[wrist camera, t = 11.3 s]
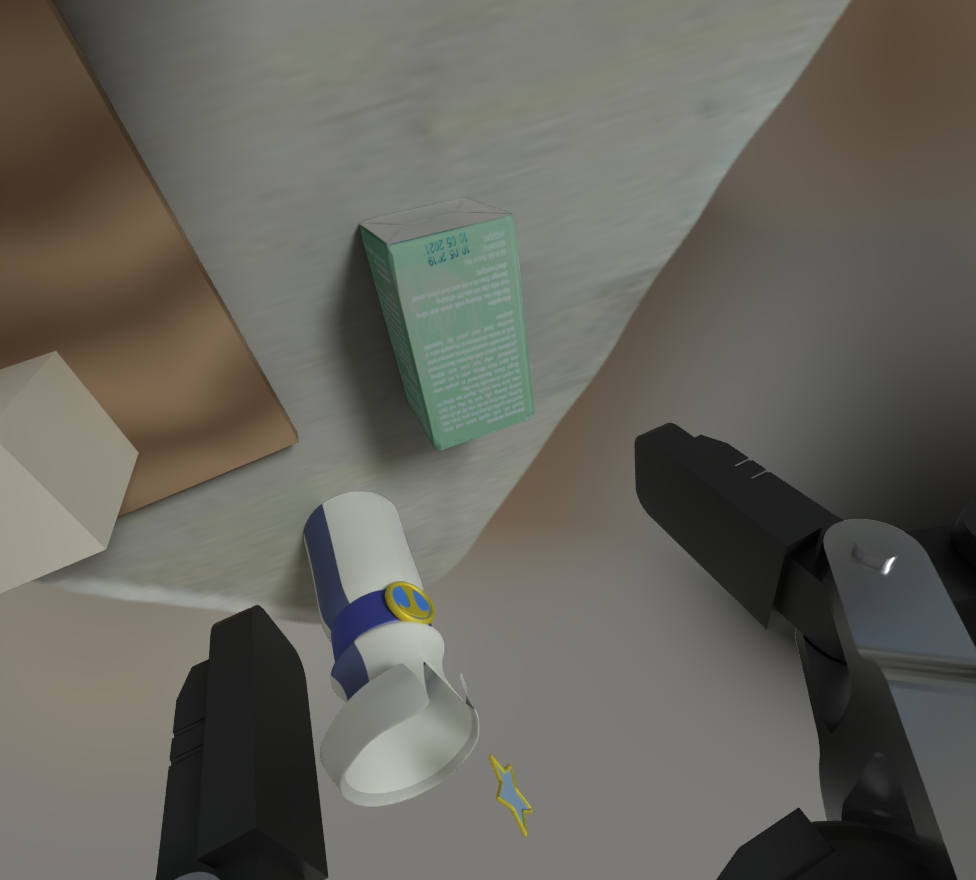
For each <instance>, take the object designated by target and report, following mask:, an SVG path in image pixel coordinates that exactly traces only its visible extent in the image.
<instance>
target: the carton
mask: <svg viewBox="0 0 976 880" xmlns="http://www.w3.org/2000/svg"><path fill="white" fill-rule="evenodd" d="M138 454H139V453H138V451H137V450H136V449H135V448H134V446H133V445H132V444H131V443H130V441H129V440H128V439H127V438H126V436H125V435H124V434H123V433H122V432H121V430H120V429H119V428H118V427H117V425H116V424H115V423H114V422H113V420H112V419H111V418H110V417H109V416H108V414H107V413H106V412H105V411H104V409H103V408H102V407H101V406H100V404H99V403H98V402H97V401H96V400H95V398H94V397H93V396H92V395H91V393H90V392H89V391H88V390H87V388H86V387H85V386H84V385H83V384H82V382H81V381H80V380H79V379H78V377H77V376H76V375H75V374H74V372H73V371H72V370H71V369H70V367H69V366H68V365H67V364H66V363H65V361H64V360H63V359H62V358H61V356H60V355H59V354H58V353H57V351H54V352H51V353H48V354H45V355H42V356H39V357H36V358H33V359H30V360H27V361H24V362H21V363H18V364H15V365H12V366H9V367H6V368H3V369H0V594H1V593H3V592H5V591H8V590H10V589H13V588H15V587H17V586H20V585H22V584H25V583H27V582H29V581H32V580H34V579H37V578H39V577H41V576H44V575H46V574H49V573H51V572H53V571H56V570H58V569H61V568H63V567H65V566H68V565H70V564H73V563H75V562H77V561H80V560H82V559H84V558H87V557H89V556H92V555H94V554H96V553H99V552H101V551H104V550H106V549H107V546H108V543H109V540H110V537H111V534H112V531H113V528H114V525H115V522H116V519H117V516H118V513H119V510H120V507H121V504H122V501H123V498H124V495H125V492H126V489H127V486H128V483H129V480H130V477H131V474H132V471H133V468H134V465H135V462H136V459H137V456H138Z"/></svg>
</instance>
